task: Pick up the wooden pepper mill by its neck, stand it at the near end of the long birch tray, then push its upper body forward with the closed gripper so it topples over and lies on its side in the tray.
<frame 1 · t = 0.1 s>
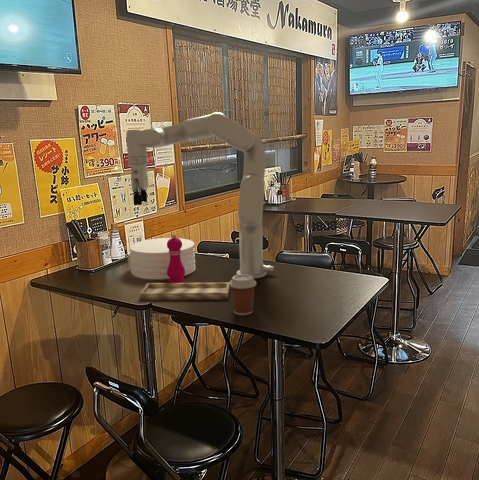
hand: (140, 203, 197), 31 cm above the table, tool pointing down, fingers open, 9 cm apart
birch tray: (186, 294, 179), on the table
coffee cup: (243, 312, 161), on the table
plate stack: (163, 270, 212), on the table
pepper mill: (176, 283, 193), on the table
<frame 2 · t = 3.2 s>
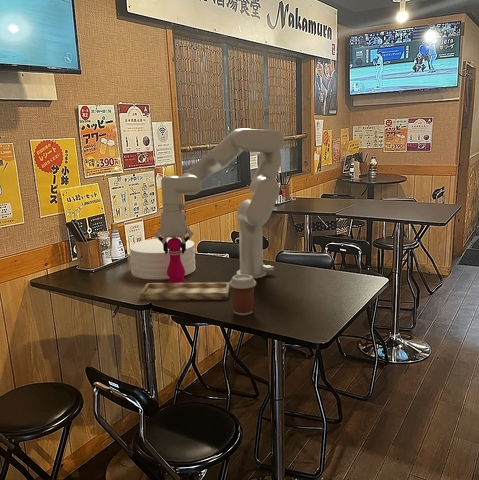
hand: (174, 252, 190), 13 cm above the table, tool pointing down, fingers closed on pepper mill, 6 cm apart
pepper mill: (176, 283, 193), on the table, touching gripper
everything else where it was.
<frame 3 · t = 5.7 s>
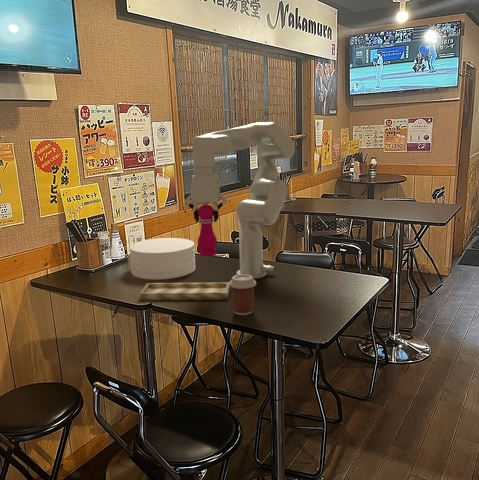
hand: (206, 220, 174), 27 cm above the table, tool pointing down, fingers closed on pepper mill, 6 cm apart
pepper mill: (207, 255, 177), point 15 cm above the table, touching gripper
everything else where it was.
when the fingers open (14 cm above the table, at t = 8.4 s): pepper mill stays where it is, resting on birch tray.
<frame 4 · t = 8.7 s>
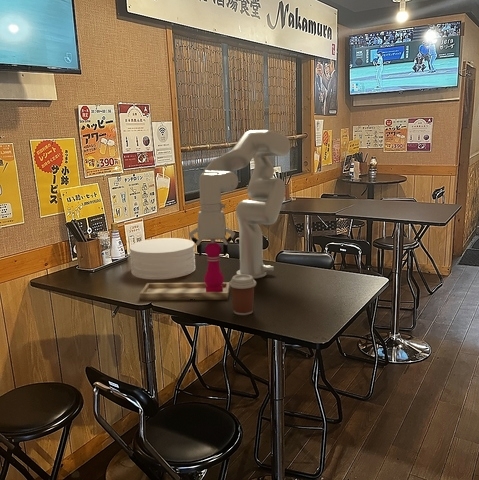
hand: (212, 254, 175), 15 cm above the table, tool pointing down, fingers open, 8 cm apart
pepper mill: (214, 291, 179), point 1 cm above the table, touching birch tray
everything else where it was.
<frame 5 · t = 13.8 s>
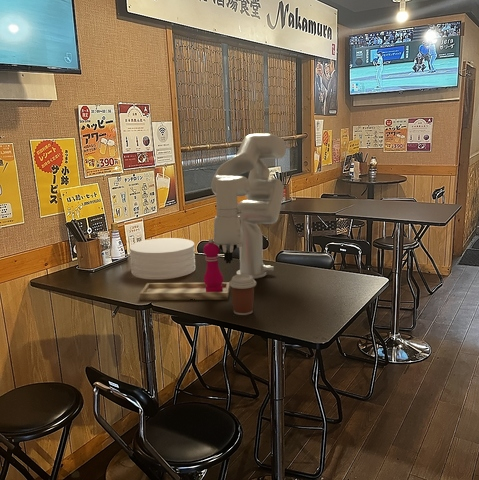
hand: (228, 262, 176), 12 cm above the table, tool pointing down, fingers closed
pepper mill: (214, 291, 179), point 1 cm above the table, touching birch tray, gripper
everything else where it was.
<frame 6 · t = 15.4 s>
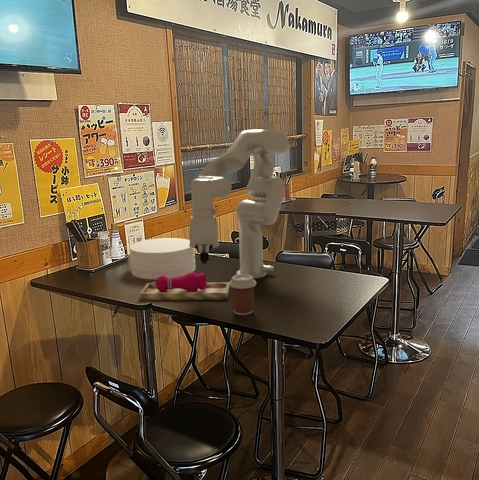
hand: (204, 262, 176), 12 cm above the table, tool pointing down, fingers closed
pepper mill: (205, 281, 178), point 5 cm above the table, touching birch tray
everything else where it was.
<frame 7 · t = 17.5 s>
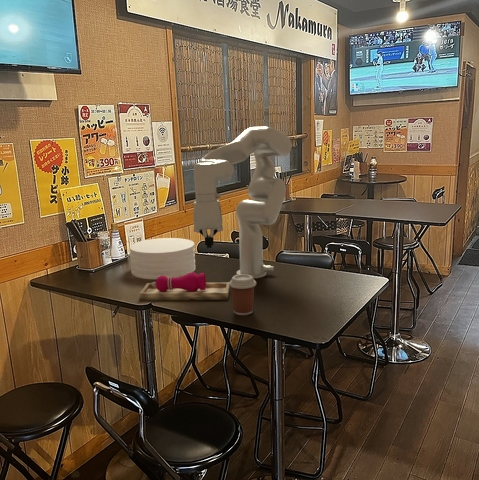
hand: (209, 247, 176), 18 cm above the table, tool pointing down, fingers closed
nothing on the table moved.
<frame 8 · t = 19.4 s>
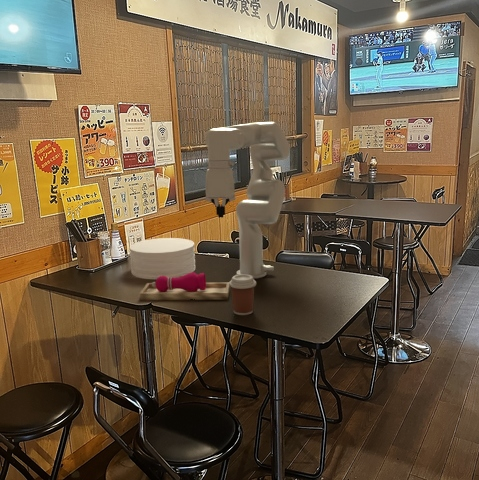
hand: (220, 216, 172), 29 cm above the table, tool pointing down, fingers closed
nothing on the table moved.
at the end: pepper mill tilted 93°; pepper mill inside the target area (8.4 cm from its centre), point 4.8 cm above the table; the gripper is holding nothing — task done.
